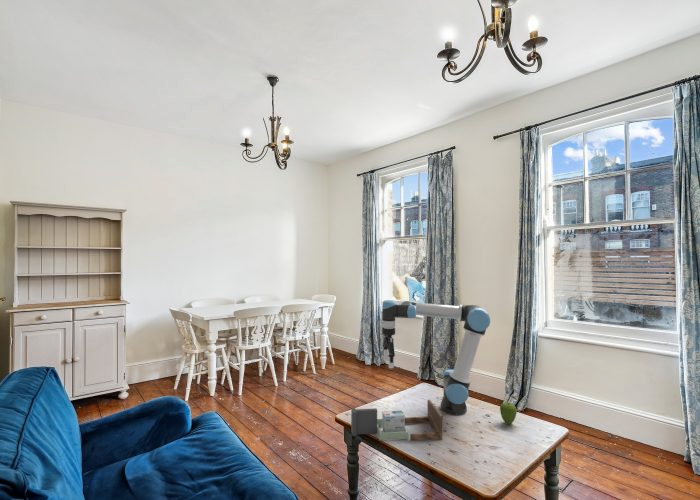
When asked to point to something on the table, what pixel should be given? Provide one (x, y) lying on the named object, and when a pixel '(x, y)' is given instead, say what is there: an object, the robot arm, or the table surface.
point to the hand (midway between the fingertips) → (388, 364)
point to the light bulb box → (393, 421)
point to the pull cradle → (372, 425)
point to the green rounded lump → (508, 412)
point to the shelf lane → (433, 419)
